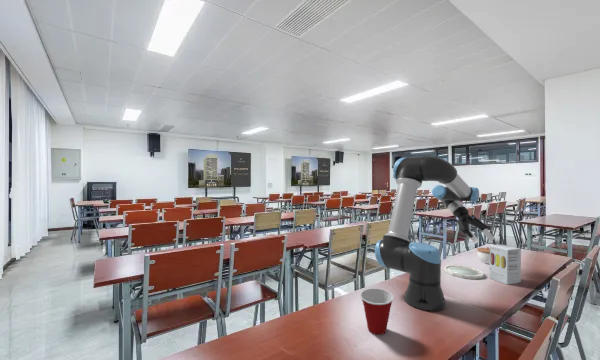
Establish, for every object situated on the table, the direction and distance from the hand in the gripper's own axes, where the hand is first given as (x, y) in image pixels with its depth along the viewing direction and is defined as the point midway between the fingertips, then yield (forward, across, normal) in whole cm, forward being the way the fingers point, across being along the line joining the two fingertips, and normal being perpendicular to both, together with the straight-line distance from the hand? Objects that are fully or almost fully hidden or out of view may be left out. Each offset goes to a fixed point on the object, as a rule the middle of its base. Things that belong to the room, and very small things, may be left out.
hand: (485, 241), depth 145 cm
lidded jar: (+4, -23, -21) cm, 31 cm away
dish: (+8, +9, -17) cm, 21 cm away
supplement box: (+19, 0, -6) cm, 20 cm away
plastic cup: (+24, +89, 0) cm, 92 cm away
